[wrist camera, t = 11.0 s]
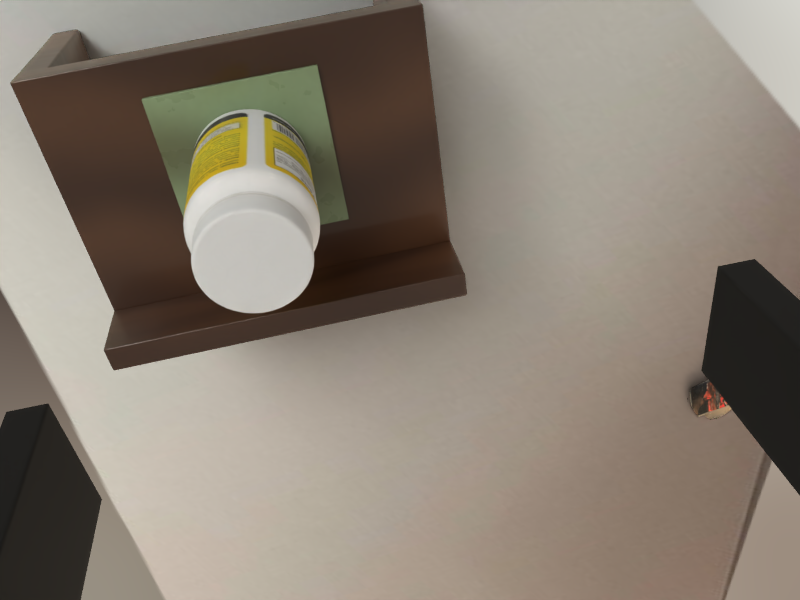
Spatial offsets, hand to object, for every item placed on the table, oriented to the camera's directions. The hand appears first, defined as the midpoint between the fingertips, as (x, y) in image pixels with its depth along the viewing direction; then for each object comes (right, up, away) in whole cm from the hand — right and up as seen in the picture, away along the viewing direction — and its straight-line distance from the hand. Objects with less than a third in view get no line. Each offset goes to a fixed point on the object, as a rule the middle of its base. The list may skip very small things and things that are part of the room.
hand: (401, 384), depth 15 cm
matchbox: (+24, -5, +40) cm, 47 cm away
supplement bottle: (-6, +8, +16) cm, 19 cm away
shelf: (-7, +11, +23) cm, 26 cm away
